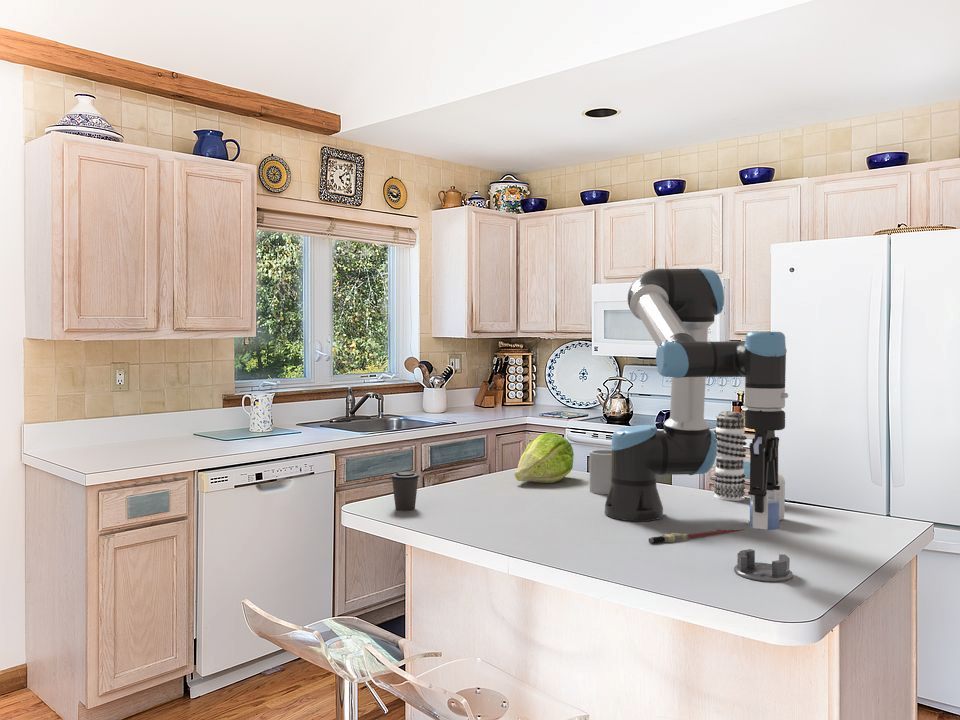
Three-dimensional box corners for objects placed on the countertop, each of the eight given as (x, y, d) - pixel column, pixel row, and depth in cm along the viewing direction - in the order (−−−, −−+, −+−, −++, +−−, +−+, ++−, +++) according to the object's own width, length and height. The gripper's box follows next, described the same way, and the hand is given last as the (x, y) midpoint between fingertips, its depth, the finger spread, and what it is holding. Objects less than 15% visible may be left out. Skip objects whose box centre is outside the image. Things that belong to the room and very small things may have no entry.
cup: (622, 494, 228) (622, 454, 228) (591, 494, 228) (591, 454, 228) (617, 488, 237) (617, 449, 237) (587, 488, 237) (587, 449, 237)
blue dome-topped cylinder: (746, 527, 152) (746, 500, 152) (753, 522, 157) (753, 496, 157) (775, 531, 149) (775, 503, 149) (781, 525, 154) (782, 499, 154)
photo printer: (772, 516, 201) (773, 469, 201) (787, 519, 197) (787, 471, 197) (747, 521, 195) (747, 473, 195) (761, 525, 192) (762, 476, 191)
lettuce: (541, 501, 237) (505, 497, 248) (588, 467, 253) (552, 465, 265) (528, 456, 234) (492, 455, 245) (577, 425, 250) (541, 425, 262)
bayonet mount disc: (727, 575, 152) (727, 558, 152) (742, 561, 161) (742, 545, 161) (785, 585, 146) (785, 567, 146) (798, 570, 155) (798, 553, 155)
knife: (639, 542, 178) (653, 545, 174) (639, 534, 178) (652, 537, 174) (732, 531, 191) (748, 534, 187) (732, 524, 191) (747, 526, 187)
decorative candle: (706, 495, 226) (706, 411, 225) (730, 493, 230) (731, 410, 229) (727, 502, 218) (728, 414, 217) (752, 499, 221) (753, 412, 220)
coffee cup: (385, 510, 208) (384, 473, 208) (399, 504, 216) (398, 468, 216) (411, 512, 205) (411, 475, 205) (425, 506, 213) (424, 470, 213)
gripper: (773, 413, 143) (772, 537, 143) (795, 406, 158) (794, 518, 158) (732, 411, 147) (731, 532, 147) (757, 404, 162) (756, 514, 163)
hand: (764, 524), depth 153 cm, fingers closed on blue dome-topped cylinder, 5 cm apart
